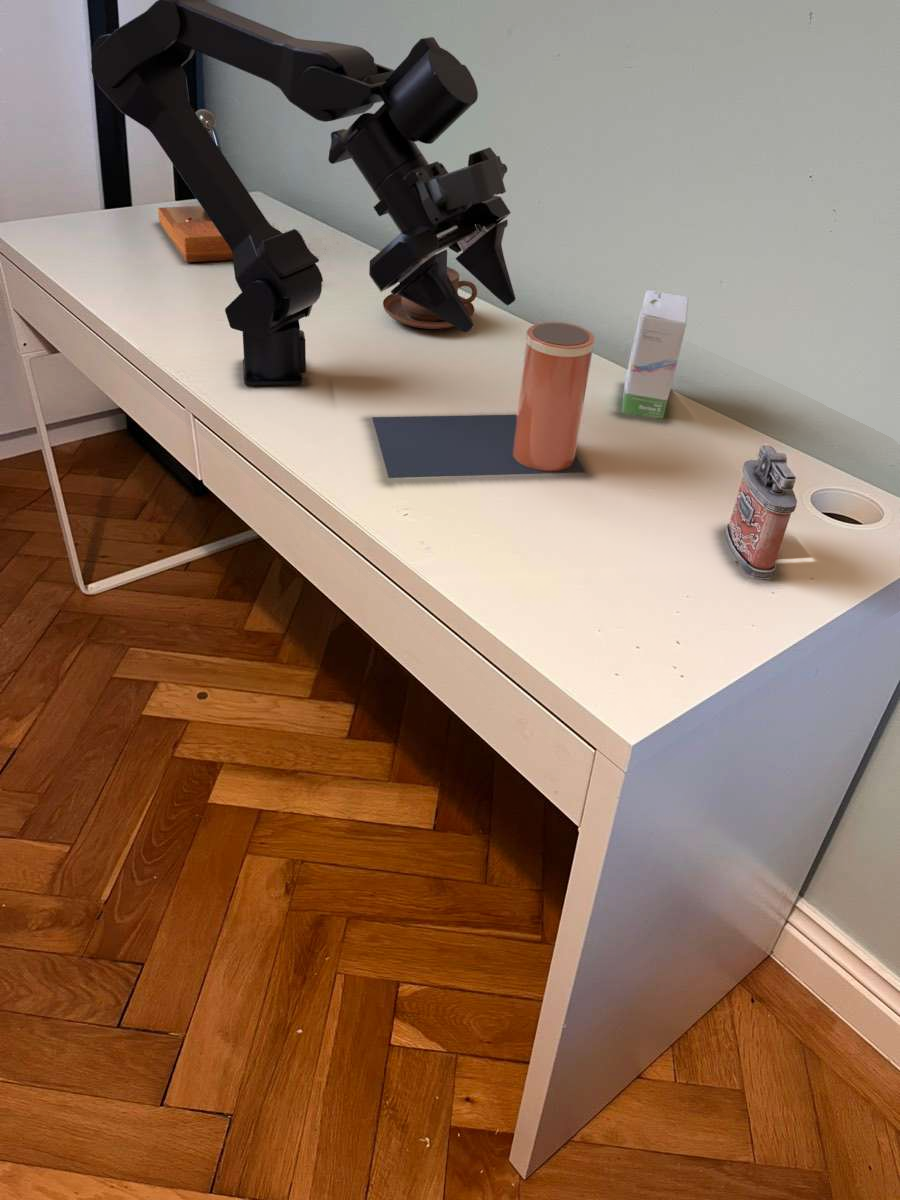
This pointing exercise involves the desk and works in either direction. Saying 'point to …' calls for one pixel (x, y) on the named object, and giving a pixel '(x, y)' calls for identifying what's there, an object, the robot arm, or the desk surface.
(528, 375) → the pen pot
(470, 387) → the desk surface
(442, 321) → the cup and saucer
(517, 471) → the felt mat
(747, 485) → the lighter
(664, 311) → the ink box
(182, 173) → the robot arm
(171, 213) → the wooden scientific apparatus
